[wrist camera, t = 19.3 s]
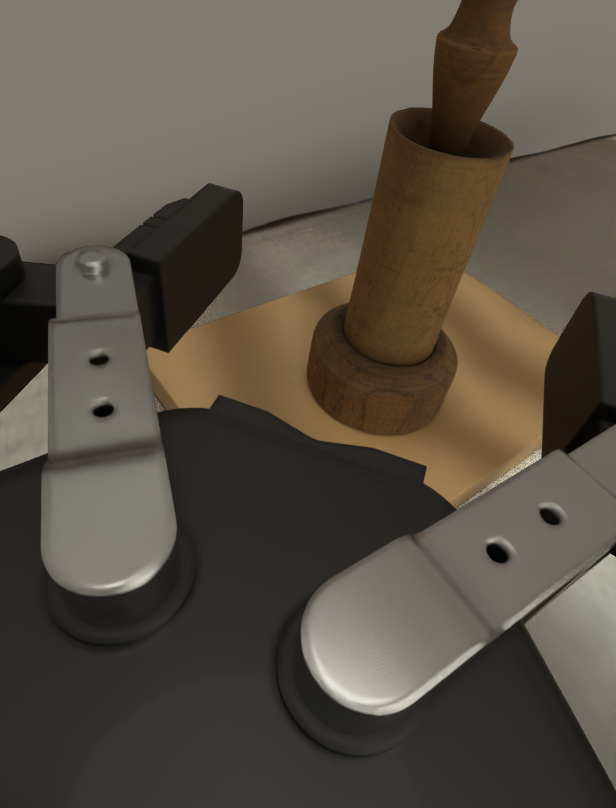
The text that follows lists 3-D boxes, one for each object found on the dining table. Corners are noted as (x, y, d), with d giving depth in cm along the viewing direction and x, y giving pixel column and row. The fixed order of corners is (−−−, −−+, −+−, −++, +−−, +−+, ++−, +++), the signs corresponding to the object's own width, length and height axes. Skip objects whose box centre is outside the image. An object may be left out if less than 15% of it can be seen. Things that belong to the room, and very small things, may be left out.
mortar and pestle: (462, 435, 23) (784, -181, 10) (316, 438, 22) (457, -250, 9) (421, 336, 27) (604, -178, 14) (298, 335, 26) (373, -225, 13)
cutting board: (423, 267, 35) (429, 246, 34) (608, 399, 28) (624, 379, 27) (137, 370, 25) (133, 347, 24) (311, 611, 18) (317, 594, 17)
